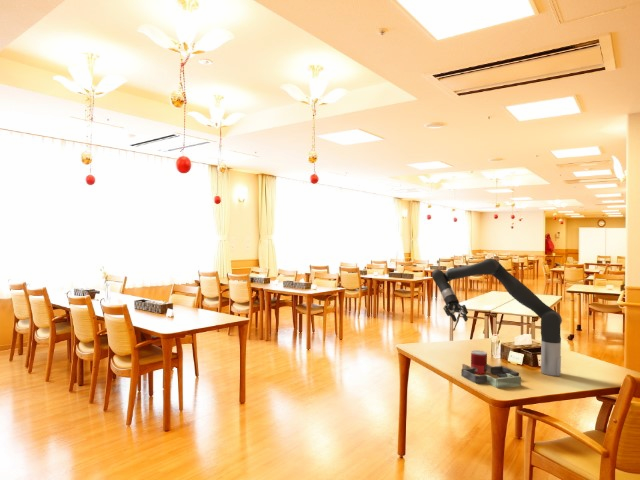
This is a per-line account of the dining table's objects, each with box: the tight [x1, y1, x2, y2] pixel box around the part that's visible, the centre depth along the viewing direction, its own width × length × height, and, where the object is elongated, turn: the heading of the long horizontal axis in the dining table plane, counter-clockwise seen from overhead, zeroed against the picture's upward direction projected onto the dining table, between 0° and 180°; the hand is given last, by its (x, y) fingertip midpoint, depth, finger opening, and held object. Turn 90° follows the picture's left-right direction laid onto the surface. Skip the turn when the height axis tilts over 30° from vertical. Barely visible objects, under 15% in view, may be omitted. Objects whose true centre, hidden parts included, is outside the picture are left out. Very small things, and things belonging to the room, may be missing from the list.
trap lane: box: [460, 363, 522, 389], centre depth 218 cm, size 28×25×4 cm
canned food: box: [470, 349, 488, 376], centre depth 227 cm, size 8×8×11 cm
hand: (461, 320), depth 242 cm, fingers open, 6 cm apart
